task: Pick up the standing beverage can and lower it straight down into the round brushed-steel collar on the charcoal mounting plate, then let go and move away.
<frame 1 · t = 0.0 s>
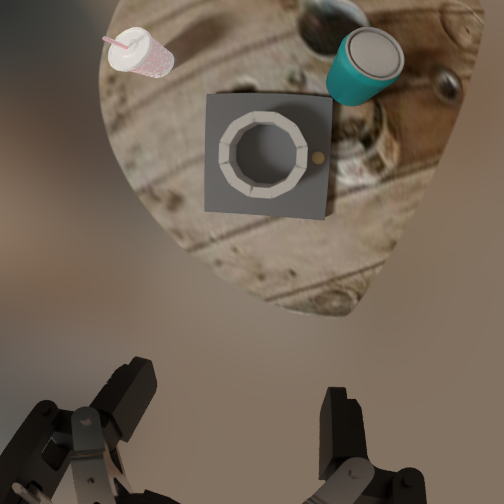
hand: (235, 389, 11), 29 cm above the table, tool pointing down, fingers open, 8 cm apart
beverage can: (346, 88, 31), on the table, touching mount plate
beverage cup: (160, 64, 33), on the table
mount plate: (267, 153, 36), on the table
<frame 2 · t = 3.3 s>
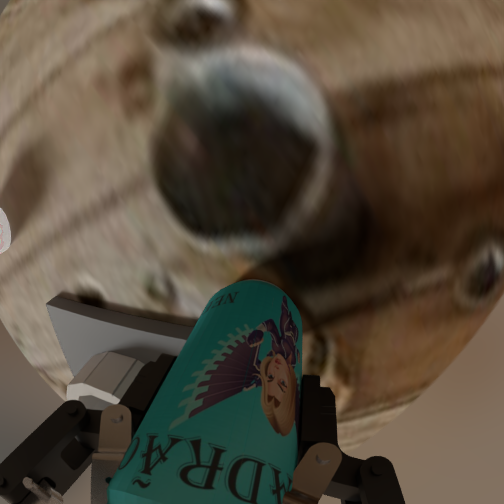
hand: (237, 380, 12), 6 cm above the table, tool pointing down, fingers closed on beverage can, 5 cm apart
beverage can: (256, 309, 18), on the table, touching gripper, mount plate
beverage cup: (1, 227, 20), on the table
mount plate: (142, 384, 22), on the table
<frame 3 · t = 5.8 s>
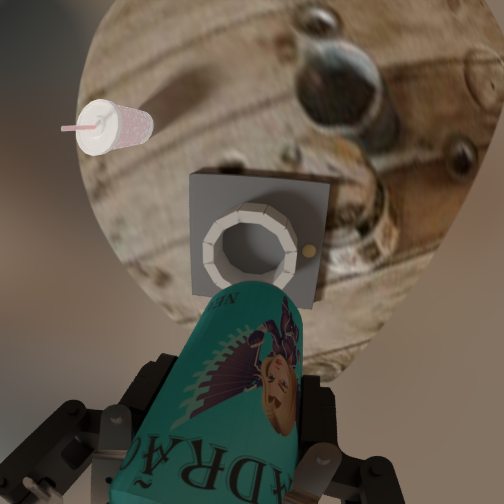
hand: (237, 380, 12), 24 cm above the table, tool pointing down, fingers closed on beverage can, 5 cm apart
beverage can: (257, 310, 18), point 18 cm above the table, touching gripper
beverage cup: (139, 127, 32), on the table
mount plate: (255, 240, 35), on the table
when the fingers open (8 cm above the table, at t = 8.7 s): beverage can stays where it is, resting on mount plate.
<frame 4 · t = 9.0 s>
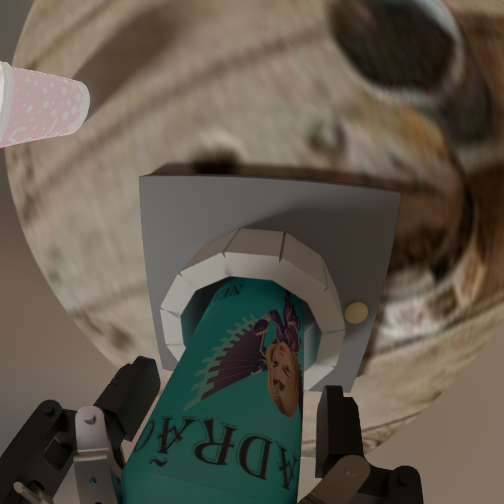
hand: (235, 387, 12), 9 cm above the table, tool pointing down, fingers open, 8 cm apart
beverage can: (260, 301, 19), point 1 cm above the table, touching mount plate
beverage cup: (71, 107, 17), on the table
mount plate: (261, 292, 20), on the table
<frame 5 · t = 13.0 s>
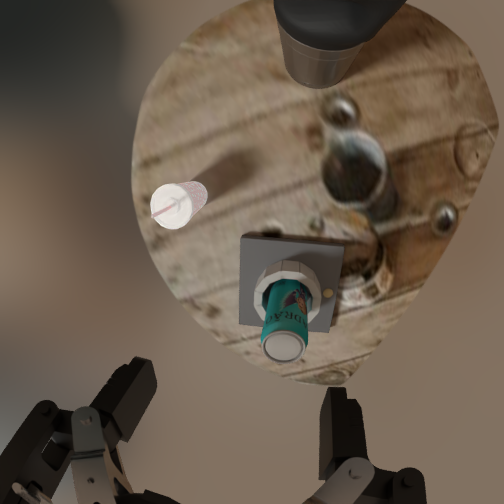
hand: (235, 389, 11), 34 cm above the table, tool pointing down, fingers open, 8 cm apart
beverage can: (288, 288, 46), point 1 cm above the table, touching mount plate
beverage cup: (194, 195, 44), on the table
mount plate: (288, 285, 47), on the table
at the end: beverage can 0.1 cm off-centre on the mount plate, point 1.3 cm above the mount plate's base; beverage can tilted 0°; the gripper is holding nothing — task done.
